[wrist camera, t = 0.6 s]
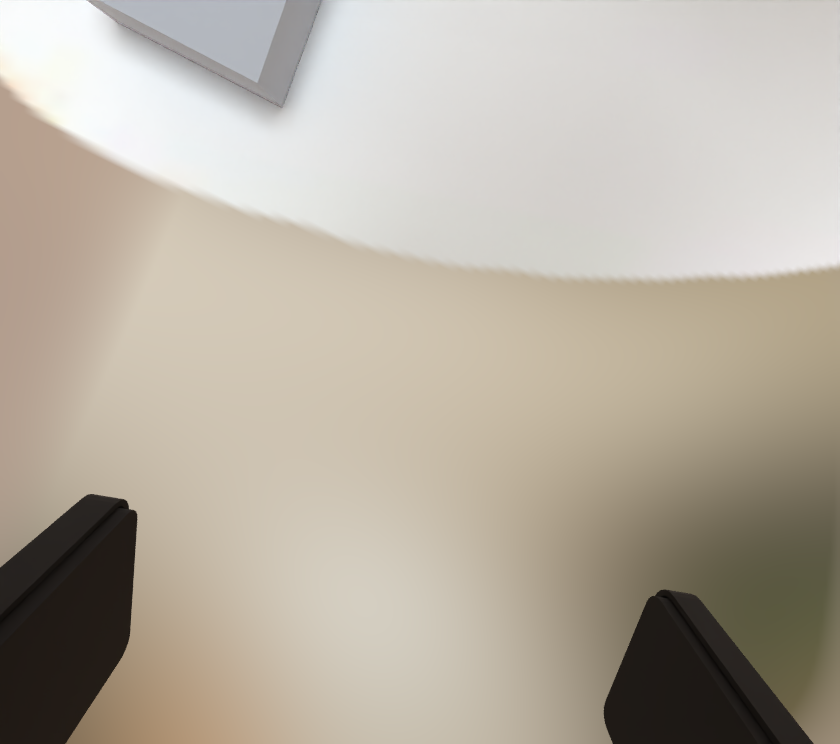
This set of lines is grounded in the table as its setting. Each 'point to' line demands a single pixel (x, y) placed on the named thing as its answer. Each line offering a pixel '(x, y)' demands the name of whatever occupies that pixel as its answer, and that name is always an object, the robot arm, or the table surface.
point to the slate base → (227, 36)
